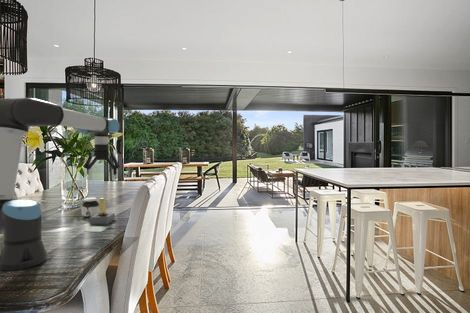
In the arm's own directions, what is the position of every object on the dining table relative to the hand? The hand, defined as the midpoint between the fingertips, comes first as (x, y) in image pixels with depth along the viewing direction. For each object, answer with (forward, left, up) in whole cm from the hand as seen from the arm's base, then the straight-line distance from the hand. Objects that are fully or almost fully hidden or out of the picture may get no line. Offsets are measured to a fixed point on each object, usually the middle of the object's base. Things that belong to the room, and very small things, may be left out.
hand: (102, 180), depth 165 cm
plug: (0, 0, -25) cm, 25 cm away
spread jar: (+14, +12, -25) cm, 31 cm away
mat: (-15, -4, -25) cm, 29 cm away
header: (0, 0, -25) cm, 25 cm away
